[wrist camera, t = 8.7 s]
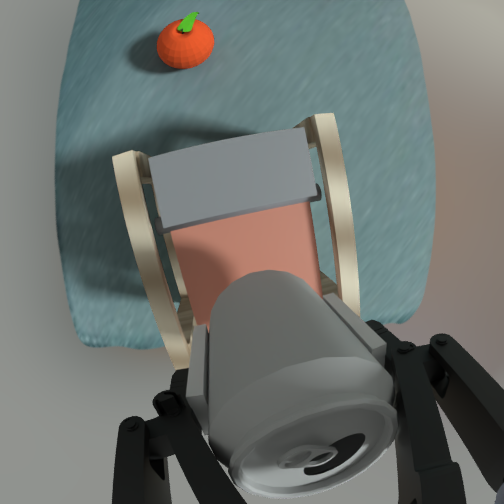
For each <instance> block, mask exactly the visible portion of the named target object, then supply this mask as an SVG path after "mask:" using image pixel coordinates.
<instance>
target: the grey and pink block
mask: <svg viewBox="0 0 504 504" xmlns="http://www.w3.org/2000/svg"><path fill="white" fill-rule="evenodd" d="M148 160H149V165H150V170H151V175H152V180H153V185H154V189H155V194H156V198H157V203H158V207H159V212H160V217H157V218H155V227H156V231H157V233H158V235H162V234H166V233H171V236H172V240H173V244H174V248H175V251H176V255H177V259H178V263H179V266H180V270H181V273H182V277H183V281H184V284H185V287H186V291H187V294H188V298H189V301H190V304H191V308H192V311H193V314H194V317H195V320H196V324H197V325H202V324H206V326H207V329H208V332H209V325H210V316H211V310H212V308H213V306H214V304H215V302H216V300H217V298H218V296H219V295H220V294H221V293H222V292H223V291H224V290H225V289H226V288H227V287H228V286H229V285H230V284H231V283H232V282H233V281H235V280H237V279H239V278H241V277H243V276H245V275H247V274H249V273H253V272H258V271H264V270H277V271H285V272H289V273H291V274H293V275H295V276H297V277H299V278H302V279H303V280H304V281H305V282H306V283H307V284H308V285H309V286H310V287H311V288H312V289H313V290H314V291H315V292H316V293H317V294H318V295H319V296H320V297H321V298H322V300H323V295H322V286H321V277H320V269H319V262H318V254H317V247H316V240H315V233H314V227H313V220H312V214H311V208H310V202H314V201H320V200H321V189H320V187H319V185H318V184H317V183H316V184H315V179H314V174H313V168H312V163H311V158H310V153H309V148H308V143H307V138H306V133H305V129H304V127H301V128H293V129H285V130H278V131H271V132H264V133H258V134H252V135H246V136H240V137H235V138H230V139H225V140H220V141H215V142H210V143H205V144H201V145H197V146H192V147H188V148H184V149H180V150H176V151H172V152H168V153H165V154H161V155H157V156H154V157H150V158H148Z"/></svg>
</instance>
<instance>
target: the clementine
mask: <svg viewBox="0 0 504 504" xmlns="http://www.w3.org/2000/svg"><path fill="white" fill-rule="evenodd" d="M197 14H199V12H193V13H191V14H189V15H188V16H187V17H186V18H184V19H180V20H177V21H174V22H172V23H171V24H169V25H168V26H166V27H165V28H164V29H163V31H162V32H161V33H160V35H159V38H158V40H157V52H158V55H159V57H160V58H161V59H162V60H163V62H164V63H166V64H167V65H169V66H171V67H174V68H179V69H187V68H192V67H195V66H197V65H199V64H201V63H202V62H204V61H205V60H206V59H207V58H208V57H209V55H210V54H211V52H212V49H213V46H214V36H213V33H212V31H211V29H210V28H209V27H208V26H207V25H206V24H205V23H203V22H201V21H199V20H196V19H195V18H196V16H197Z"/></svg>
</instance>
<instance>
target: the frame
mask: <svg viewBox="0 0 504 504" xmlns="http://www.w3.org/2000/svg"><path fill="white" fill-rule="evenodd" d="M301 127H304V129H305V133H306V138H307V143H308V148H309V149H311V148H313V147H317V152H318V157H319V162H320V167H321V173H322V178H323V184H324V190H325V196H326V202H327V208H328V215H329V222H330V229H331V237H332V244H333V252H334V261H335V270H336V280H337V284H335V283H334V282H333V281H332V280H331V279H330V278H328V277H327V276H326V275H325V274H324V273H323V272H321V271H320V277H321V286H322V295H327V294H330V293H334V294H335V295H336V296H337V297H339V298H340V299H341V300H342V301H343V302H344V303H345V304H346V305H347V306H348V307H349V308H350V309H351V310H352V311H353V312H354V313H355V314H357V315H358V316H359V317H360V298H359V281H358V267H357V255H356V244H355V235H354V226H353V218H352V210H351V203H350V196H349V189H348V183H347V177H346V171H345V165H344V160H343V155H342V149H341V144H340V139H339V135H338V130H337V125H336V121H335V117H334V113H325V114H314V115H313V116H311V117H308V118H306V119H305V120H303V121H302V122H301V123H299V124H298V125H296V126H295V127H294V128H301ZM292 129H293V128H292ZM150 157H151V156H149V155H146V154H144V153H142V152H139V151H136V152H135V151H133V150H131V151H128V152H124V153H121V154H118V155H115V156H112V160H113V165H114V171H115V176H116V181H117V186H118V191H119V196H120V200H121V205H122V209H123V213H124V217H125V222H126V226H127V229H128V233H129V237H130V241H131V245H132V248H133V252H134V255H135V259H136V262H137V266H138V269H139V272H140V275H141V279H142V282H143V285H144V288H145V291H146V294H147V297H148V300H149V303H150V306H151V309H152V312H153V314H154V317H155V320H156V323H157V325H158V328H159V331H160V333H161V336H162V338H163V341H164V344H165V346H166V349H167V351H168V353H169V356H170V358H171V361H172V363H173V366H174V368H175V370H178V369H184V368H189V363H190V354H191V346H192V338H193V331H194V326H197V324H196V320H195V317H194V314H193V311H192V308H191V304H190V301H189V298H188V294H187V291H186V287H185V284H184V281H183V277H182V273H181V270H180V266H179V263H178V259H177V255H176V251H175V248H174V244H173V240H172V236H171V233H166V234H163V236H164V240H165V243H166V247H167V251H168V255H169V258H170V262H171V266H172V269H173V273H174V276H175V280H176V283H177V286H178V290H179V293H180V296H181V301H180V305H179V308H178V312H176V309H175V306H174V303H173V300H172V297H171V294H170V290H169V287H168V284H167V281H166V277H165V274H164V270H163V267H162V263H161V260H160V256H159V253H158V249H157V245H156V242H155V238H154V234H153V230H152V226H151V222H150V218H149V214H148V209H147V205H146V201H145V196H144V191H143V187H142V184H152V189H153V193H154V198H155V202H156V207H157V211H158V215H159V217H160V212H159V207H158V203H157V198H156V194H155V189H154V185H153V180H152V175H151V170H150V165H149V160H148V158H150Z"/></svg>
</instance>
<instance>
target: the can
mask: <svg viewBox="0 0 504 504" xmlns="http://www.w3.org/2000/svg"><path fill="white" fill-rule="evenodd" d="M395 395H396V393H395V388H394V384H393V379H392V377H391V375H390V374H389V373H388V372H387V371H386V370H385V369H384V368H383V366H382V365H381V364H380V363H379V362H378V361H377V360H376V358H375V357H374V356H373V355H372V354H371V353H370V352H369V351H368V349H367V348H366V347H365V346H364V345H363V344H362V343H361V342H360V340H359V339H358V338H357V337H356V336H355V335H354V334H353V333H352V332H351V330H350V329H349V328H348V327H347V326H346V325H345V324H344V323H343V322H342V320H341V319H340V318H339V317H338V316H337V315H336V314H335V313H334V312H333V311H332V309H331V308H330V307H329V306H328V305H327V304H326V303H325V302H324V301H323V300H322V298H321V297H320V296H319V295H318V294H317V293H316V292H315V291H314V290H313V289H312V288H311V287H310V286H309V285H308V284H307V283H306V282H305V281H304V280H303V279H302V278H299V277H297V276H295V275H293V274H291V273H289V272H285V271H277V270H264V271H258V272H253V273H249V274H247V275H245V276H243V277H241V278H239V279H237V280H235V281H233V282H232V283H231V284H230V285H229V286H228V287H227V288H226V289H225V290H224V291H223V292H222V293H221V294H220V295H219V296H218V298H217V300H216V302H215V304H214V306H213V308H212V310H211V316H210V325H209V356H208V435H209V436H208V438H209V439H208V440H209V445H210V447H211V449H212V451H213V453H214V456H215V458H216V459H217V460H218V461H220V462H221V463H222V464H223V465H225V466H226V467H227V468H228V473H229V475H230V477H231V479H232V481H233V483H234V484H235V485H236V486H238V487H239V488H241V489H242V490H244V491H246V492H247V493H250V494H254V495H257V496H261V497H265V498H283V499H284V498H285V499H287V498H296V497H303V496H309V495H313V494H316V493H320V492H323V491H327V490H330V489H332V488H334V487H337V486H339V485H341V484H343V483H346V482H348V481H350V480H351V479H353V478H355V477H356V476H358V475H359V474H361V473H362V472H364V471H365V470H367V469H368V468H370V467H371V466H372V465H373V464H374V463H375V462H376V461H377V460H378V459H379V458H381V457H382V456H383V455H384V453H385V452H386V451H387V449H388V448H389V446H390V445H391V444H392V442H393V441H394V439H395V436H396V433H397V430H398V426H399V419H398V414H397V411H396V409H394V408H393V404H394V400H395Z"/></svg>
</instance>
